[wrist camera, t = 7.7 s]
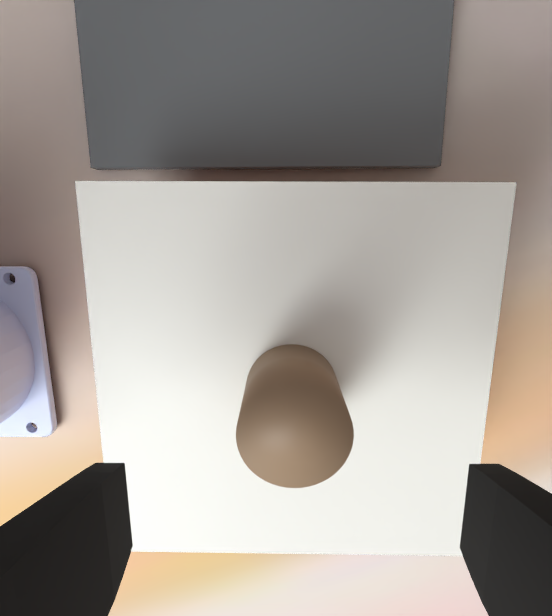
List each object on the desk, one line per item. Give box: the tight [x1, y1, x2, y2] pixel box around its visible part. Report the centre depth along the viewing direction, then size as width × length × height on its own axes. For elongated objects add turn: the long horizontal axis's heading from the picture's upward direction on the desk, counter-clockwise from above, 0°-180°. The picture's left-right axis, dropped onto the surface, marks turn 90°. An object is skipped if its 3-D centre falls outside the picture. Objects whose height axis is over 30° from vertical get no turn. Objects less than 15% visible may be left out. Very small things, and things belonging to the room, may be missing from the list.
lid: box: [75, 181, 517, 556], centre depth 12 cm, size 13×13×4 cm
